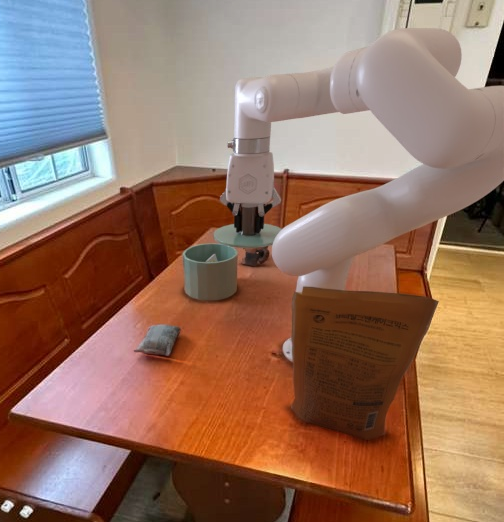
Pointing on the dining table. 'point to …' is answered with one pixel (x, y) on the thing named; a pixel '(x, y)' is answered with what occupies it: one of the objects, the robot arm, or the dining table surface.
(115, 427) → the dining table surface
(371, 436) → the pancake mix bag
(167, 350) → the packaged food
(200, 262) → the pot
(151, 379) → the dining table surface
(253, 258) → the pottery mug
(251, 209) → the lid
